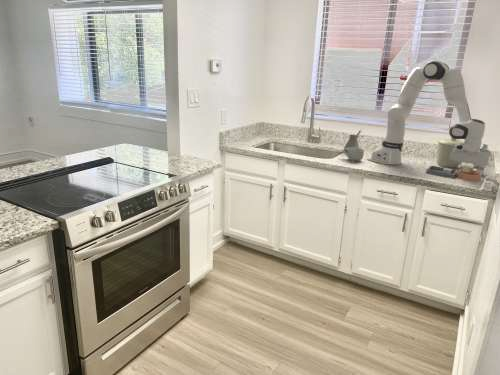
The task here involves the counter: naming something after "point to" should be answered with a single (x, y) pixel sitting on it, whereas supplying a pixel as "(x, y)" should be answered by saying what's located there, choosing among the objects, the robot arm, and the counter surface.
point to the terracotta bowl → (469, 175)
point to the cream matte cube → (447, 170)
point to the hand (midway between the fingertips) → (466, 169)
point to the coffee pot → (352, 142)
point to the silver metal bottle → (481, 167)
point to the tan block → (466, 168)
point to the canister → (447, 152)
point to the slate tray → (440, 171)
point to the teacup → (354, 153)
